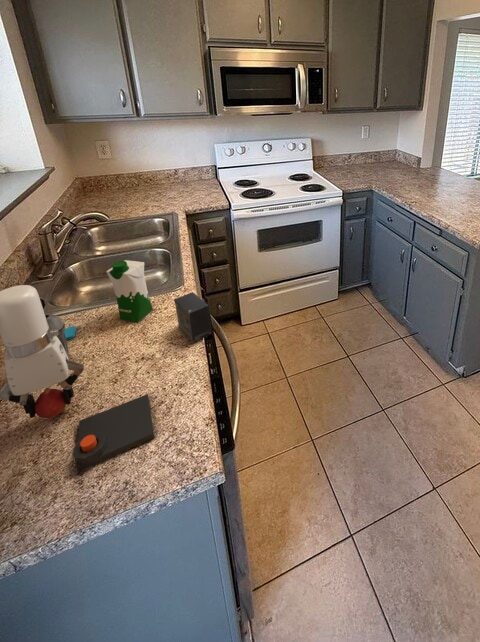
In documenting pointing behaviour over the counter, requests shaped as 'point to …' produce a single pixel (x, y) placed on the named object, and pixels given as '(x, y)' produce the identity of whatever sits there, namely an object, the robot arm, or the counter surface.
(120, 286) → the milk carton
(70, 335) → the sponge
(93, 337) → the counter surface
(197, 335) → the small box
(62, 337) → the beverage cup
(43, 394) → the onion
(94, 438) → the power button
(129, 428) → the scale
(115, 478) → the counter surface
